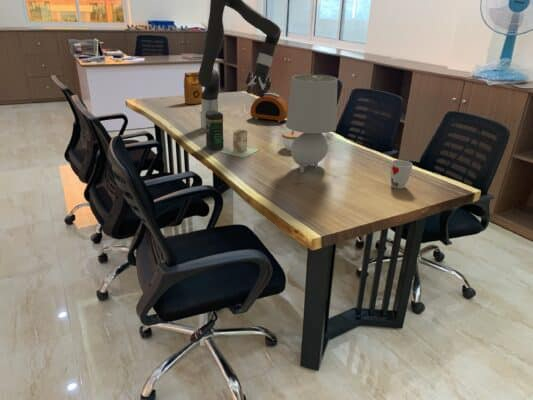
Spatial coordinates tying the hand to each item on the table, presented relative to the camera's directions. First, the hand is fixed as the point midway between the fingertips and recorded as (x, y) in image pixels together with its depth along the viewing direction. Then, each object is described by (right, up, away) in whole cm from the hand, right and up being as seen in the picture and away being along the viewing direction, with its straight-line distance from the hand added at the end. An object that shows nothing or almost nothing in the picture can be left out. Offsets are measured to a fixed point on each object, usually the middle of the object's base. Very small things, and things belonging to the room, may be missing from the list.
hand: (254, 95), depth 216 cm
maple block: (-7, -30, -10) cm, 32 cm away
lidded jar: (+19, -28, -4) cm, 34 cm away
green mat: (-7, -30, -10) cm, 33 cm away
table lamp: (+25, -40, -29) cm, 55 cm away
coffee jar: (-20, -28, -5) cm, 35 cm away
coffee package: (-47, +16, +87) cm, 100 cm away
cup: (+60, -49, -45) cm, 89 cm away
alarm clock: (+8, -3, +50) cm, 51 cm away
